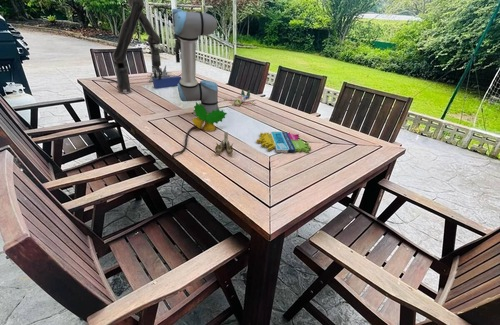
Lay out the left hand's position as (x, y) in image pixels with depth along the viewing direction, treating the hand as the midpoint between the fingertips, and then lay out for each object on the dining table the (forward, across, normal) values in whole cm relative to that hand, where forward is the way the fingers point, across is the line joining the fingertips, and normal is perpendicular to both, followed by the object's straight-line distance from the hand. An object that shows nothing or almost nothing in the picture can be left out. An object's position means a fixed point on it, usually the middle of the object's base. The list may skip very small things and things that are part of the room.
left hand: (157, 78), depth 241 cm
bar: (+8, +1, +9) cm, 12 cm away
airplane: (+8, -33, +19) cm, 39 cm away
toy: (+7, +76, +36) cm, 85 cm away
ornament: (+7, +109, -22) cm, 112 cm away
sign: (+7, +151, -1) cm, 151 cm away
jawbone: (+7, +140, -34) cm, 144 cm away
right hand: (-20, +47, -3) cm, 51 cm away
